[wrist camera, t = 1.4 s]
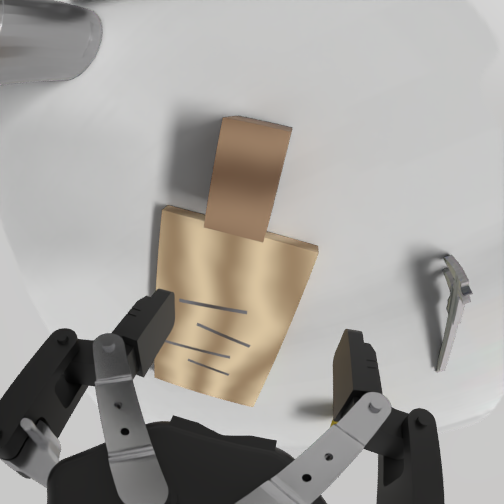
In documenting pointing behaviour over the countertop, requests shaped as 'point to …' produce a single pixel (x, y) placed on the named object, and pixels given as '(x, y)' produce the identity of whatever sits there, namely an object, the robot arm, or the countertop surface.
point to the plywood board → (226, 304)
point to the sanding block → (246, 176)
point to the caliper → (453, 306)
